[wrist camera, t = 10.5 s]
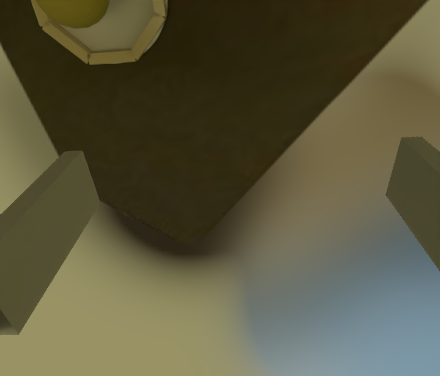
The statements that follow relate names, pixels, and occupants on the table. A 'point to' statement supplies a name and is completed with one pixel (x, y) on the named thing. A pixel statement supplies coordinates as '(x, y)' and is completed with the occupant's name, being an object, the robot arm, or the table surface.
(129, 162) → the table surface
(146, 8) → the socket base
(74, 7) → the light bulb
